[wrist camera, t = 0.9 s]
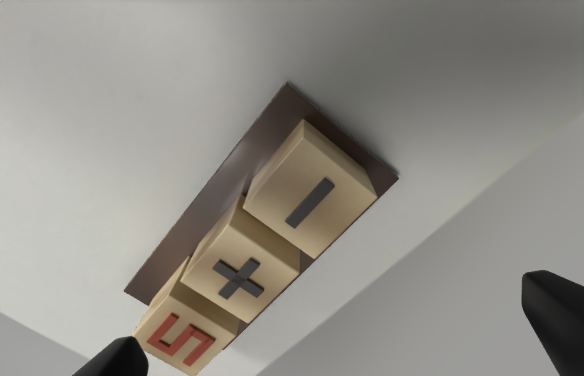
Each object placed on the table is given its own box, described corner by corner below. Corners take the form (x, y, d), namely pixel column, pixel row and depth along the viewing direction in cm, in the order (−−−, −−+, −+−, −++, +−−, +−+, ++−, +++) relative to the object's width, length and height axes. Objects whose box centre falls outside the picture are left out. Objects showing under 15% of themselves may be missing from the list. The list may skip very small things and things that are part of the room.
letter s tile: (246, 292, 23) (235, 339, 19) (208, 331, 24) (192, 381, 21) (188, 255, 22) (166, 297, 18) (152, 298, 23) (126, 344, 20)
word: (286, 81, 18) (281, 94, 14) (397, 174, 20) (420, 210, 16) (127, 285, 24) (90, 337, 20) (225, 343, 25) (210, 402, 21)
